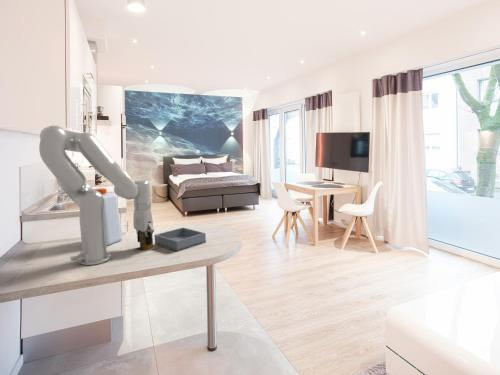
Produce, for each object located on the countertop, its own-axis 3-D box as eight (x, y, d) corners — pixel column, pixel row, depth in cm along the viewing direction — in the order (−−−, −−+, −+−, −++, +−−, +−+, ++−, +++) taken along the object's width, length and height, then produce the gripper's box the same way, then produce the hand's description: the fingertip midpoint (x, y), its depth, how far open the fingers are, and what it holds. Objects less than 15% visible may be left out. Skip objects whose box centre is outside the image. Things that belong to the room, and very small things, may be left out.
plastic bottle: (81, 245, 160) (76, 190, 157) (103, 236, 175) (99, 186, 171) (104, 248, 156) (100, 191, 152) (125, 239, 170) (122, 187, 166)
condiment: (156, 248, 154) (155, 224, 152) (139, 252, 148) (138, 227, 146) (149, 245, 159) (148, 222, 157) (133, 249, 153) (131, 225, 152)
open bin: (177, 251, 149) (176, 241, 148) (155, 244, 160) (154, 234, 159) (205, 242, 162) (205, 232, 162) (183, 236, 174) (182, 227, 173)
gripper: (125, 205, 153) (128, 241, 156) (145, 210, 142) (148, 248, 145) (139, 203, 159) (141, 237, 161) (160, 207, 148) (162, 244, 150)
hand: (144, 242), depth 153 cm, fingers closed on condiment, 6 cm apart
